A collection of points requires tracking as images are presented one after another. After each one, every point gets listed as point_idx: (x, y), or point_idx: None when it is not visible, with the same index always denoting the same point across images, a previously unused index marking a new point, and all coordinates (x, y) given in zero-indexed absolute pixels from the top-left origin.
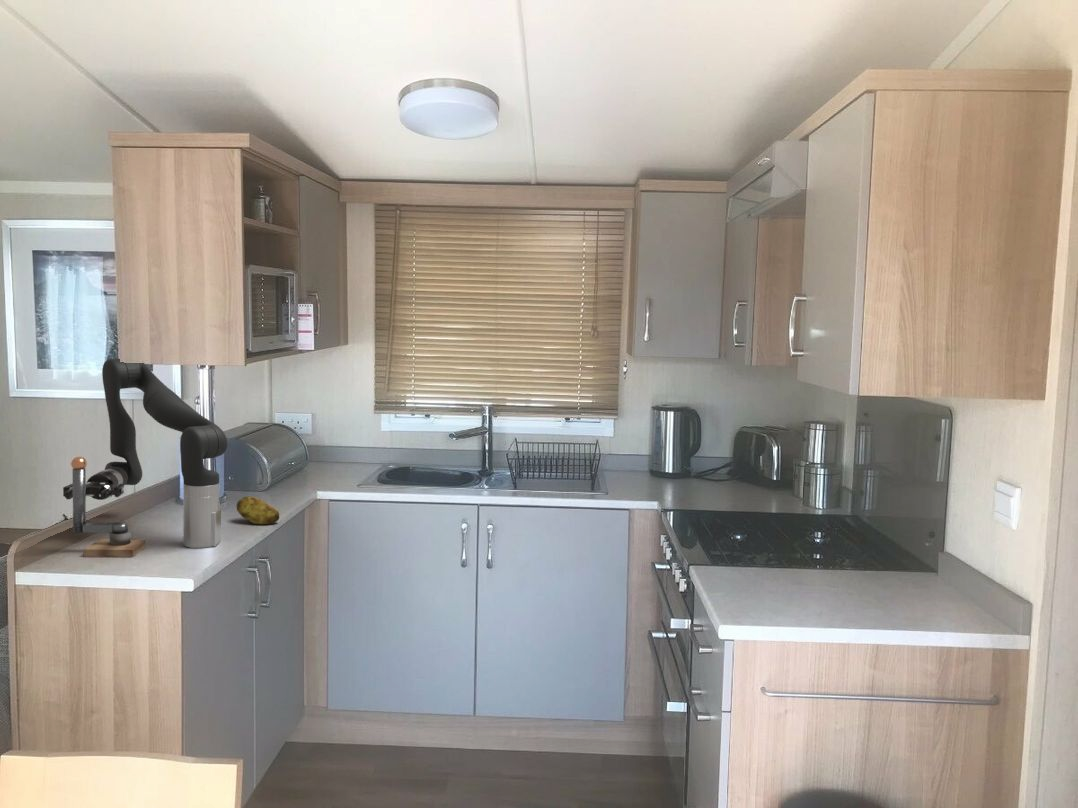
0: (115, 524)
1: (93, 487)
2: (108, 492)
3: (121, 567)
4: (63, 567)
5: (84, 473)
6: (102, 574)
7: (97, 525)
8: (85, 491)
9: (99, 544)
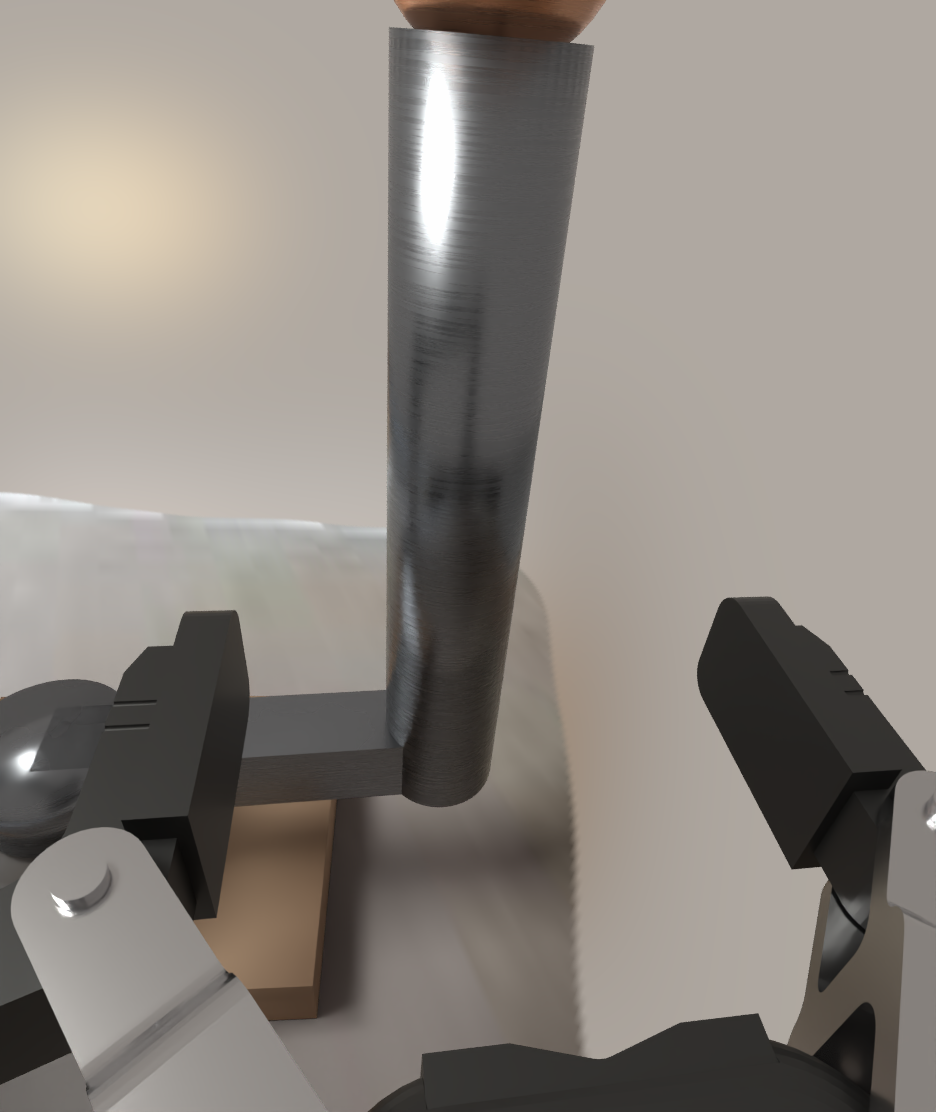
0: (92, 715)
1: (594, 1066)
2: (110, 729)
3: (93, 586)
4: (379, 585)
5: (390, 120)
6: (175, 519)
7: (265, 699)
8: (388, 422)
9: (266, 809)
